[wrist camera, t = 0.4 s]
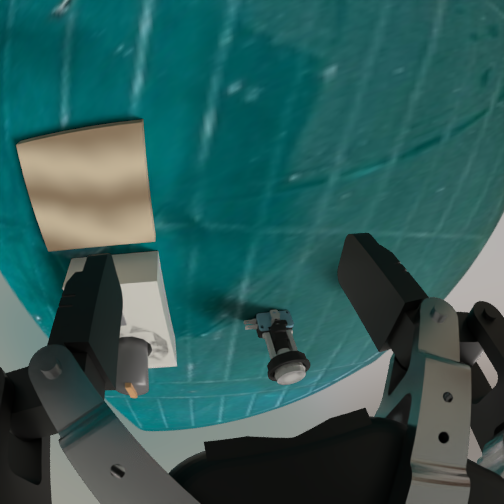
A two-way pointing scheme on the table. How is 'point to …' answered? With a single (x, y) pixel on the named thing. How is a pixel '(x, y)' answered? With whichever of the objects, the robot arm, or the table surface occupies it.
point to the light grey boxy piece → (142, 304)
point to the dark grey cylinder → (132, 366)
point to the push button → (280, 346)
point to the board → (90, 186)
